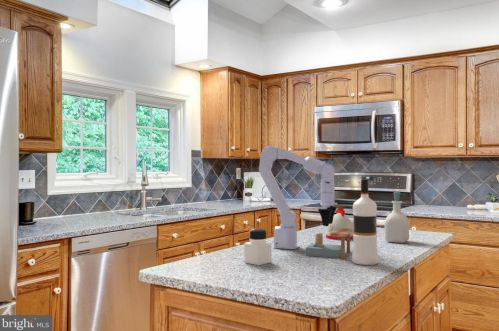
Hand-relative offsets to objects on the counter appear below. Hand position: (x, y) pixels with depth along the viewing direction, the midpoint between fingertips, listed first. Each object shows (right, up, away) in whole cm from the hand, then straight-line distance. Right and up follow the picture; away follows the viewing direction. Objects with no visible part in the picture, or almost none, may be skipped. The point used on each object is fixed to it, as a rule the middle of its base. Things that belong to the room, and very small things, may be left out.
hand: (327, 224), depth 181 cm
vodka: (+8, -10, -27) cm, 30 cm away
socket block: (-3, -10, -12) cm, 16 cm away
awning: (+3, -10, -14) cm, 17 cm away
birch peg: (-5, -10, -11) cm, 16 cm away
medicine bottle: (-30, -10, -26) cm, 41 cm away
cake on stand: (+11, -10, +27) cm, 31 cm away
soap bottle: (+34, -10, +15) cm, 39 cm away
